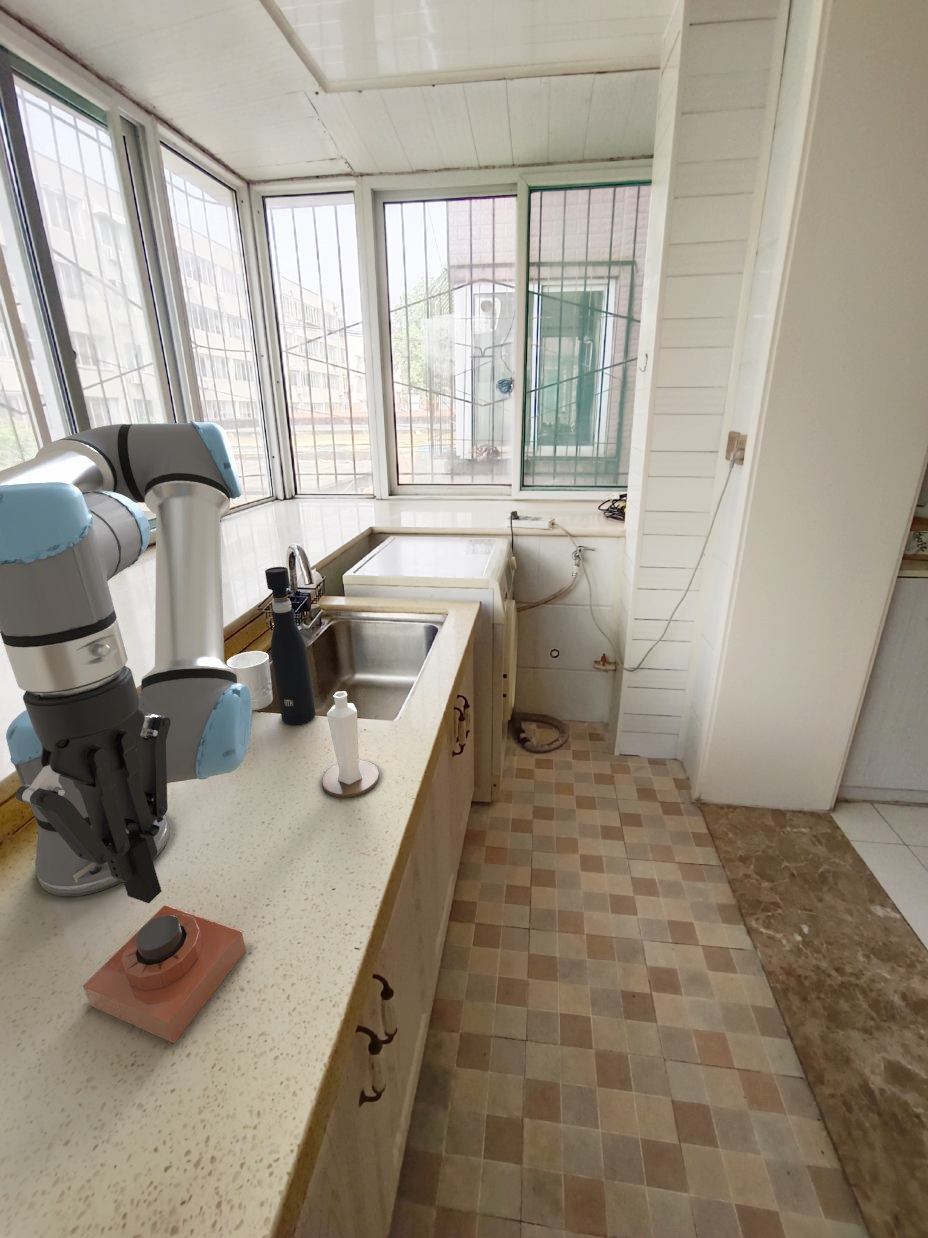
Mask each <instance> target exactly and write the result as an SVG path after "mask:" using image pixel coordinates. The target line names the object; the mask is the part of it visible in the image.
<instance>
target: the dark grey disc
mask: <svg viewBox="0 0 928 1238" xmlns="http://www.w3.org/2000/svg"><path fill="white" fill-rule="evenodd" d="M147 922H148V921H147ZM147 922H146V923H147ZM146 923H145V924H146ZM145 924H144V925H145ZM144 925H143V926H142V927H143V928H142V927H141V928H142V929H141V928H140V929H141V930H140V929H139V930H140V931H139V930H138V931H139V933H138V934H137V937H136V946H137V949H138V952H139V955H140V958H141V960H142V961H143V962H144V963H146V964H150V965H152V964H158V963H161V962H163V961H165V960H167V959H168V958H170V957H172V956H173V955H175V954H176V953H177V951H178V950H179V949H180V948H181V946H182V944H183V940H184V935H183V932H182V929H181V925H180V922H179V920H178V918H176V917H175V916H172V915H164V916H160V917H157V918H155V919H153V920H151V921H150V922H148V923H147V924H146V925H145V926H144Z"/></svg>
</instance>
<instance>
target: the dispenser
mask: <svg viewBox="0 0 928 1238" xmlns="http://www.w3.org/2000/svg"><path fill="white" fill-rule="evenodd" d="M164 915H172V916H175V917H176V918H178V920H179V922H180V925H181V929H182V932H183V935H184V940H183V944H182V946H181V948H180V949H179V950H178V951H177V953H176V954H175V955H173V956H172V957H170V958H168V959H167V960H165V961H163V962H161V963H158V964H152V965H150V964H146V963H144V962H143V961H142V960H141V958H140V955H139V952H138V949H137V946H136V937H137V934H138V933H139V931H140V930H141V929H142V928H143V926H145V925H146V924H147V923H148V922H150V921H151V920H153V919H155V918H157V917H160V916H164ZM143 926H141V928H140V929H139V930H138V931H136V933H134V934H133V936H131V937H130V939H128V940H127V941H126V942H125V943H124V944H123V945H122V946H121V947H120V948H119V949H118V950H117V951H116V952H115V953H114V954H113V955H112V956H111V957H110V958H109V959H108V960H107V961H106V962H105V963H104V964H103V965H102V966H101V967H100V968H99V969H98V970H97V971H96V972H95V973H94V974H93V975H92V976H91V977H90V978H89V979H87V981H86V982H85V983H84V984H83V985H82V988H83V990H84V993H85V995H86V997H87V1001H88V1003H89V1005H90V1007H92V1008H94V1009H97V1010H98V1011H101V1012H103V1013H105V1014H107V1015H110V1016H112V1017H114V1018H116V1019H118V1020H121V1021H122V1022H124V1023H128V1024H130V1025H132V1026H134V1027H136V1028H138V1029H140V1030H143V1031H145V1032H147V1033H149V1034H152V1035H154V1036H156V1037H158V1038H160V1039H162V1040H164V1041H167V1042H169V1043H172V1044H176V1042H177V1041H178V1039H179V1038H180V1037H181V1035H183V1033H184V1032H185V1031H186V1029H187V1028H188V1027H189V1026H190V1024H191V1023H192V1022H193V1020H194V1019H195V1018H196V1016H197V1015H198V1014H199V1012H200V1011H201V1010H202V1009H203V1008H204V1006H205V1004H207V1002H208V1001H209V1000H210V998H211V997H212V996H213V995H214V993H215V992H216V991H217V989H218V988H219V987H220V986H221V984H223V982H224V981H225V979H226V978H227V976H228V975H229V974H230V973H231V971H232V970H233V969H234V967H236V965H237V964H238V962H239V961H240V960H241V959H242V957H243V956H244V955H245V953H246V952H247V948H246V947H247V946H246V943H245V939H244V936H243V932H242V931H241V930H240V929H239V930H238V929H236V928H233V927H230V926H227V925H224V924H222V923H219V922H215V921H213V920H210V919H207V918H204V917H202V916H199V915H195V914H193V913H190V912H187V911H185V910H182V909H178V908H175V907H172V906H170V905H166V904H164V905H163V906H162V907H161V908H160V909H159V910H157V912H156V913H155V914H154V915H153V916H151V918H149V920H148V921H147V922H146V923H145V924H144V925H143Z"/></svg>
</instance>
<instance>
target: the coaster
mask: <svg viewBox="0 0 928 1238" xmlns="http://www.w3.org/2000/svg"><path fill="white" fill-rule="evenodd" d="M359 770H360V772H361V775H362V778H361V779H359V780H357V781H355V782H353V783H351V784H346V783H344V782H341V781H339V780H338V775H339V768H338V763H337V764H334V765H332V766H331V767H330V768H328V770H326V771H325V772H324V775H323V776H322V781H321V783H322V788H323V790H324V791H325V792H326V794H329V795H331V796H332V797H335V798H345V799H346V798H353V797H354V798H355V797H357V796H361V795H363V794H365V793H368V792H369V791H370V790H372V789H373V788H374V787H375V786H376V785H377V784H378V782H379V779H380V772H379V769H378V767H377V766H376V765H375V764H374V763H373V762H371V761H368V760H364V759H359Z"/></svg>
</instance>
